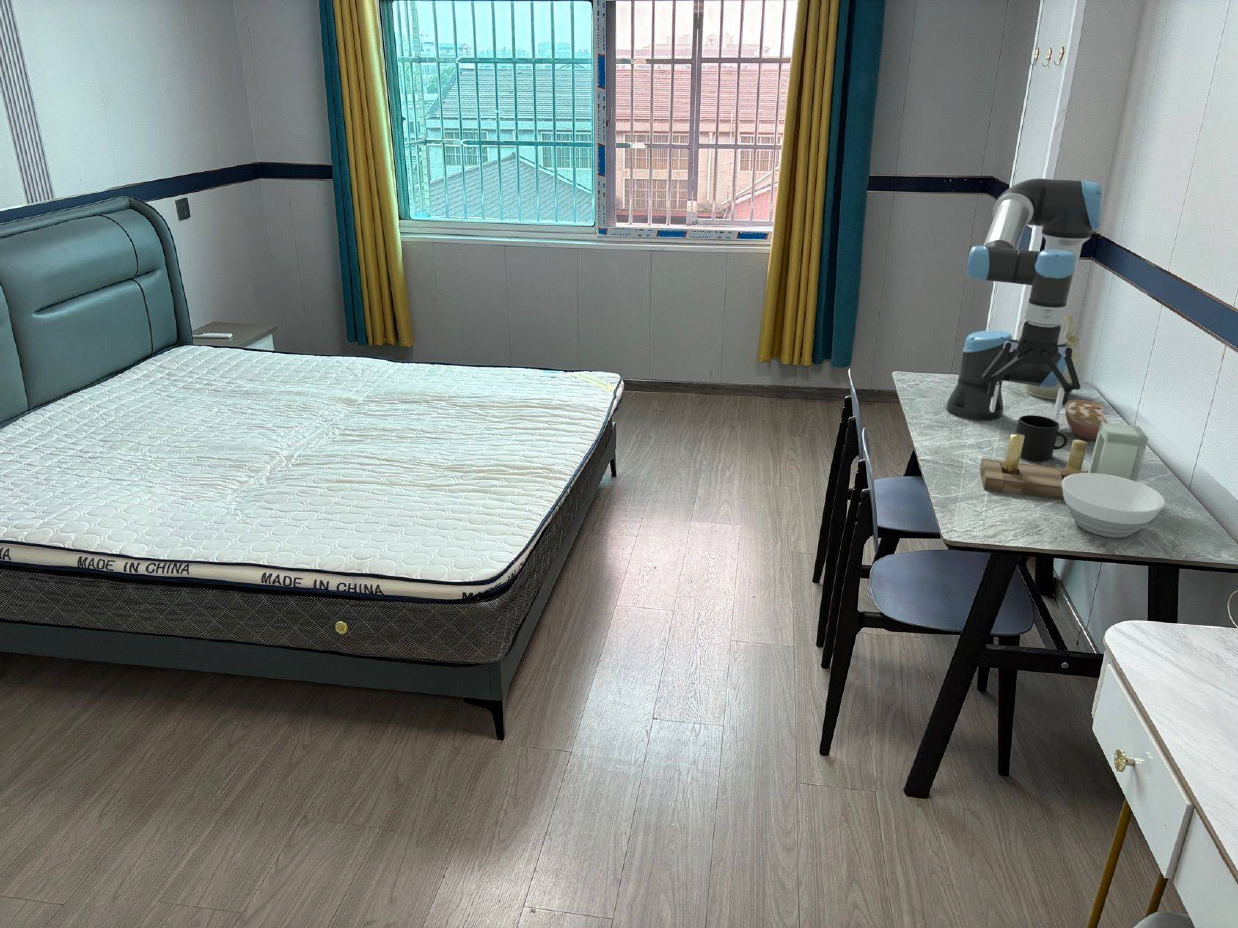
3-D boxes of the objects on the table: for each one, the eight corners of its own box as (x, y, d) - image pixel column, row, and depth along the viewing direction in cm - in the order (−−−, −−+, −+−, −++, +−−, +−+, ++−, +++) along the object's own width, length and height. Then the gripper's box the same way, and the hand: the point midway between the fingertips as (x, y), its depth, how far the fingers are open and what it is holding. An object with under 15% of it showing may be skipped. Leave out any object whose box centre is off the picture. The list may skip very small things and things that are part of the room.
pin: (1000, 479, 213) (1010, 432, 209) (1013, 481, 212) (1023, 433, 208) (1001, 484, 211) (1011, 436, 206) (1015, 486, 210) (1025, 438, 205)
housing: (1088, 473, 210) (1100, 422, 205) (1125, 477, 208) (1139, 426, 203) (1094, 486, 202) (1108, 434, 197) (1133, 491, 201) (1148, 438, 196)
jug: (1058, 386, 283) (1076, 307, 273) (1084, 402, 269) (1104, 320, 259) (1011, 385, 282) (1027, 307, 272) (1034, 402, 268) (1052, 319, 258)
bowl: (1082, 548, 182) (1092, 511, 179) (1036, 506, 200) (1044, 472, 197) (1175, 548, 183) (1186, 511, 180) (1121, 506, 201) (1130, 472, 198)
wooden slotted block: (979, 469, 218) (988, 423, 214) (1114, 486, 211) (1127, 439, 206) (983, 489, 208) (993, 441, 203) (1126, 507, 200) (1139, 458, 196)
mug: (1063, 466, 222) (1071, 432, 218) (1011, 457, 226) (1018, 424, 223) (1062, 453, 230) (1070, 420, 226) (1012, 445, 234) (1019, 412, 231)
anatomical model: (1106, 446, 236) (1110, 428, 234) (1065, 440, 239) (1069, 423, 237) (1097, 419, 256) (1101, 402, 254) (1059, 414, 259) (1063, 397, 257)
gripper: (983, 322, 196) (966, 412, 205) (1108, 332, 190) (1085, 425, 199) (981, 313, 203) (964, 402, 211) (1101, 323, 197) (1079, 414, 205)
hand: (1023, 413), depth 205 cm, fingers open, 13 cm apart
